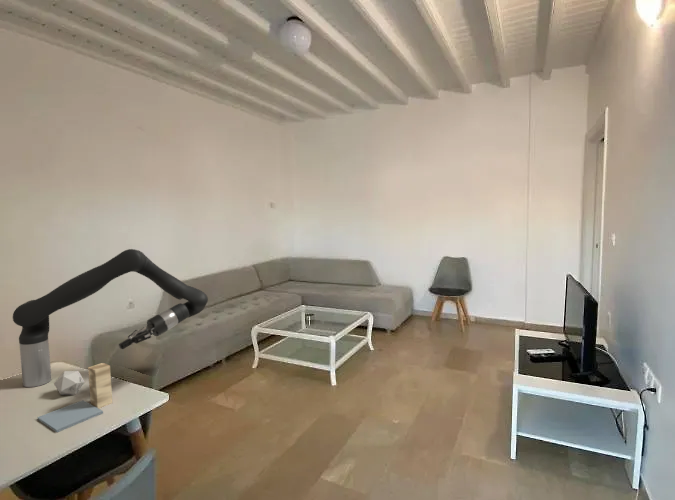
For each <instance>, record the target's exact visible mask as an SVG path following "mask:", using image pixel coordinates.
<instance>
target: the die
mask: <svg viewBox="0 0 675 500" xmlns="http://www.w3.org/2000/svg"><path fill="white" fill-rule="evenodd" d="M85 383H86V381H85V380H84V378H83V376H82V374H81V373H80V371H79V370H64V371H63V372H62V373H61V374H60V376H59V377H58V378H57V379H56V380H55V381H54V382H53V384H54V386H55V388H56V389H57V392H58V393H59V394H60V395H62V396H69V395H70V396H71V395H73V396H74V395H76V394H77V393H78V391H79V390H80V389H81V388H82V387H83V386H84V384H85Z"/></svg>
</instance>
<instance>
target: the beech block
mask: <svg viewBox="0 0 675 500" xmlns="http://www.w3.org/2000/svg"><path fill="white" fill-rule="evenodd" d="M87 369H88V384H89V385H88V386H89V397H90V398H89V401H90V404H91V405H93V406H95V407H97V408H98V409H102V408H105V407H106V406H109V405H112V404H113V394H112V393H113V392H112V391H113V390H112V377H111V375H112V374H111V365H109V364H107V363H104V362H101V363H98V364H95V365H92V366H88V367H87Z"/></svg>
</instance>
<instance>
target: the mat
mask: <svg viewBox="0 0 675 500" xmlns="http://www.w3.org/2000/svg"><path fill="white" fill-rule="evenodd" d="M102 414H104V411H103V410H102V409H101V408H99V409H98V408H97V407H95V406H93V405H91V403H89V402H87V401H85V400H80V401H77V402H74V403H72V404H68V405H66V406H64V407H61V408H59V409H56V410H53V411H50V412H48V413H45V414H42V415H39V416H37V421H39V422H41V423H42V424H44V425H45V426H47V427H48V428H49V429H51V430H52V431H54V432H55V433H59V432H61V431H64V430H66V429H68V428H71V427H73V426H76V425H78V424H80V423H83V422H85V421H89V419H90V420H91V419H92V418H95V417H98V416H99V415H102Z"/></svg>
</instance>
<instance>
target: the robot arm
mask: <svg viewBox="0 0 675 500" xmlns="http://www.w3.org/2000/svg"><path fill="white" fill-rule="evenodd" d="M131 272H133V273H134V272H135V273H136V274H140V275H141V276H144V277H146V278H147V279H148V280H150V281H152V282H153V283H154V284H156V285H157V286H158V287H159V288H160V289H161V290H162V291H164V292H166V293H167V294H169V296H172V297H173V298H175V299H177V300H179V301H180V300H185V301H186V302H184V303H177V304H176V305H173V306H171V307H170V308H168V309H166V310H162V311H161V312H159V313H158V314H156V315H154V316H152V317H151V318H149V319H147V321H146V326H142V327H140V328H139V329H135V330H134V331H133V332H132V333H130V334H129V335H128V336H127V339H125V340H123V341H121V342H120V343H118V347H119V348H120V349H121V350H124V349H126V348H128V347H129V346H131V345H134V344H139V343H141V342H143V341H145V340H149V339H151V338H152V335H153V336H155V337H159V336H161V335H162V334H164V333H166V332H167V331H169V330H171V329H172V328H174V327H175V326H177V325H178V324H180V323H182V322H183V321H186V319H188V318H191V317H193V316H195V315H198V314H199V313H201V312H203V310H204V309H205V307H206V305H207V304H208V302H209V297H208V295H207V294H206V293H205V292H204V291H203V290H201V289H198V288H197V287H193V286H190V285H187V284H186V283H185V282H183V281H181V280H180V279H178V278H177V277H175V276H174V275H173V274H170V273H169V272H167V271H166V270H164V269H162V268H161V267H159V266H158V265H157V264H156V263H155V262H153V261H152V260H151V259H150V258H149V257H148V256H146V254H145V253H144V252H142V251H140V250H138V249H133V248H131V249H130V248H128V249H126V250H124V251H121V252H120V253H118V254H117V255H115V256H114V257H112V258H110V260H108V261H106V262H104V263H103V264H100V265H97V266H95V267H93V268H91V269H89V270H87V271H84V272H83V273H80V274H78V275H76V276H74V277H72V278H70V279H69V280H67V281H66V282H64V283H62V284H60V285H58V286H57V287H56V288H54V289H53V290H51V291H50V292H48V293H47V294H45V295H43V296H41V297H39V298H36V299H31V300H28V301H26V302H24V303H22V304H20V305H18V306H17V307H16V309H15V310H14V311H13V313H12V321H13V323H14V324H15V325H16V326H20V327H21V332H20V334H19V336H18V343H19V344H18V345H19V353H20V354H19V356H20V366H21V367H20V368H21V378H22V379H21V380H22V386H23V387H25V388H33V387H39V386H42V385H46V384H48V383H49V382H51V381H52V368H51V356H50V354H51V353H50V343H49V332H50V315H51V314H53V313H55V312H57V311H59V310H61V309H63V308H66V307H68V306H71V305H73V304H75V303H79V302H80V301H82V300H85V299H87V298H88V297H90V296H92V295H94V294H96V293H97V292H99V291H100V290H102V289H104V287H106V285H108V283H109V284H110V282H111V281H113V280H115V279H116V278H119V277H120V276H123V275H125V274H128V273H131Z"/></svg>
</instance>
